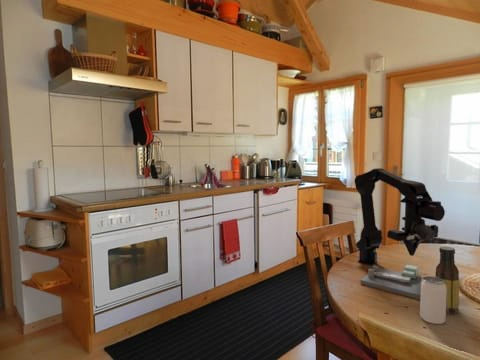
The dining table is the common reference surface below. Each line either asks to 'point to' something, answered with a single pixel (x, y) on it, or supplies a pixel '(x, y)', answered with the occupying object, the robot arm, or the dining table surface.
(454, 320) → the dining table surface
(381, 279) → the board
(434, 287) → the can
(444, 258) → the sauce bottle
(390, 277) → the strap
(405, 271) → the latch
